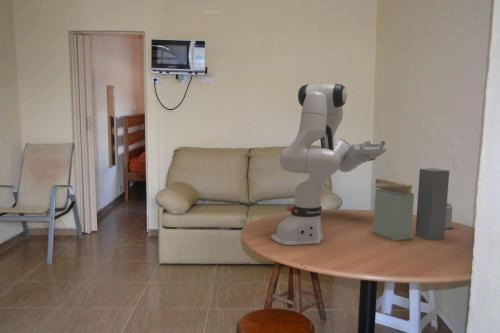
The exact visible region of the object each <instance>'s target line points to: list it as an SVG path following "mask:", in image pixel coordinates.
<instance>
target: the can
mask: <svg viewBox="0 0 500 333" xmlns="http://www.w3.org/2000/svg"><path fill="white" fill-rule="evenodd" d="M452 214H453V206H452V203H450V202H447V209H446V222H445V230H448V229H450V228H451V227H452V219H453V218H452V217H453V215H452Z"/></svg>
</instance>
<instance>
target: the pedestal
mask: <svg viewBox="0 0 500 333" xmlns="http://www.w3.org/2000/svg"><path fill="white" fill-rule="evenodd" d="M418 177H419V178H418V188H417V189H418V190H417V202H416V203H417V204H416V220H415V236H416V237H419V238H422V239H425V240H429V241H431V240H432V241H433V240H439V239H444V238H445V235H446V234H445V232H446V229H445V222H446V209H447V203H448V193H449V180H450V170H448V169H441V168H437V167H436V168H419V175H418Z"/></svg>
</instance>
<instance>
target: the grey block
mask: <svg viewBox="0 0 500 333" xmlns="http://www.w3.org/2000/svg"><path fill="white" fill-rule="evenodd" d="M414 198H415V193H413V192H412V195H404V194H400V193H396V192H392V191H388V190H384V189H379V188H375V195H374V214H373V229H372V230H373V231H372V232H373V234H375V235H378V236H381V237H385V238H387V239H390V240H393V241H395V242H396V241H403V240H411V239H412V229H413V228H412V227H413V214H414Z"/></svg>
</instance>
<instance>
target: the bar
mask: <svg viewBox="0 0 500 333" xmlns="http://www.w3.org/2000/svg"><path fill="white" fill-rule="evenodd" d="M374 188H375V189H384V190H388V191H392V192H396V193H400V194H404V195H412V193H413V185H412V184H406V183H402V182H397V181H392V180H388V179H384V178H376V179H375V184H374Z"/></svg>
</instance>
